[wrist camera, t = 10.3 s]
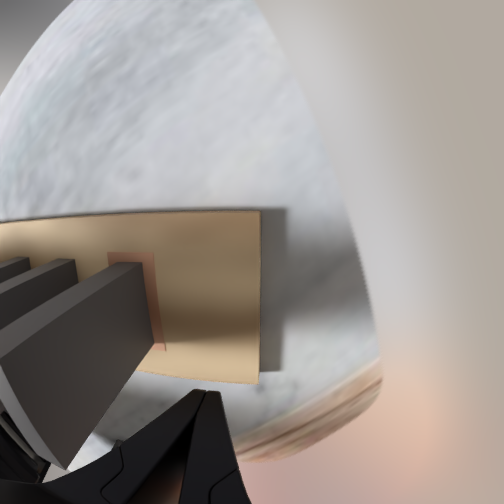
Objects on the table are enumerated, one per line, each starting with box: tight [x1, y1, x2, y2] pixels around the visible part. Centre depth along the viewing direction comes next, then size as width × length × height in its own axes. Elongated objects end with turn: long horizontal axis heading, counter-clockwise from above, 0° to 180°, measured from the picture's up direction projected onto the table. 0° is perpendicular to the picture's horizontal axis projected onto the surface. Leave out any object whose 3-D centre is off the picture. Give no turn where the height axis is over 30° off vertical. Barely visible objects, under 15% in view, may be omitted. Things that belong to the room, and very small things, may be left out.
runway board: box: [0, 211, 261, 384], centre depth 16 cm, size 10×29×1 cm, turn 90°
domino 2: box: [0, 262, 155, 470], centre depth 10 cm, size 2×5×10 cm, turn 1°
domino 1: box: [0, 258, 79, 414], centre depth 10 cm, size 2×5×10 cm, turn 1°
